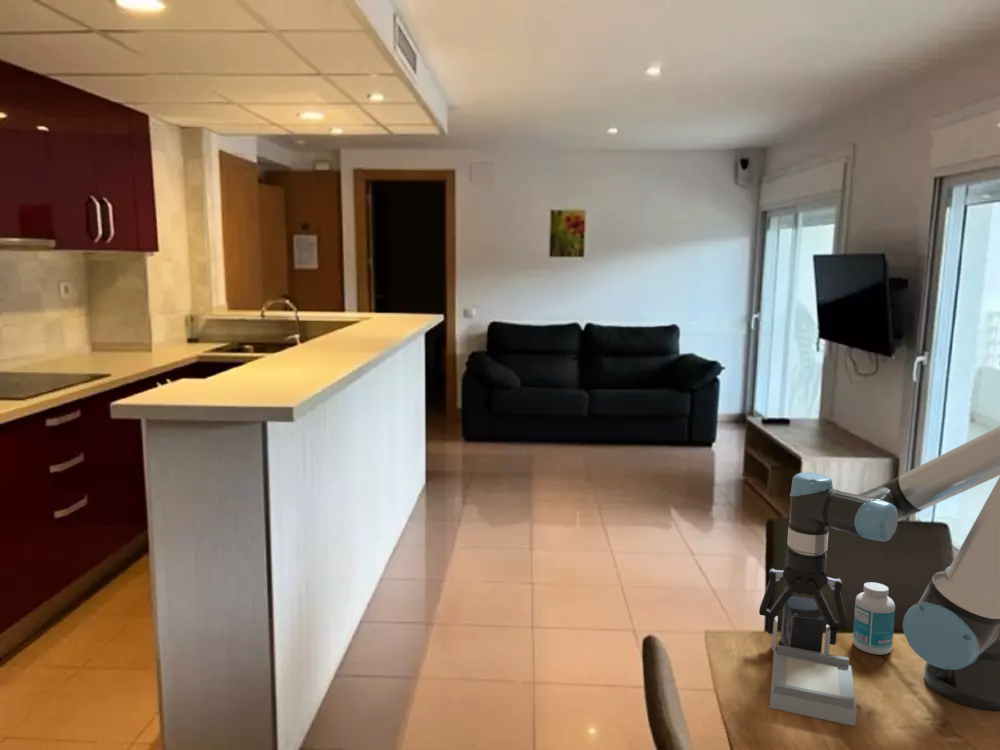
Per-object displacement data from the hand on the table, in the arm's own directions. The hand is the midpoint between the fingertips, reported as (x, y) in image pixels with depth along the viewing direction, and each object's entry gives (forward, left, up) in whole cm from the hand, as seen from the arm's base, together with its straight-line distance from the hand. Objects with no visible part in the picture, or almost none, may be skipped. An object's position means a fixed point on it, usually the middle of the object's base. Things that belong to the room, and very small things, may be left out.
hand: (799, 652), depth 152 cm
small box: (0, 0, 0) cm, 0 cm away
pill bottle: (-14, -9, 0) cm, 17 cm away
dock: (-2, +15, 0) cm, 15 cm away
